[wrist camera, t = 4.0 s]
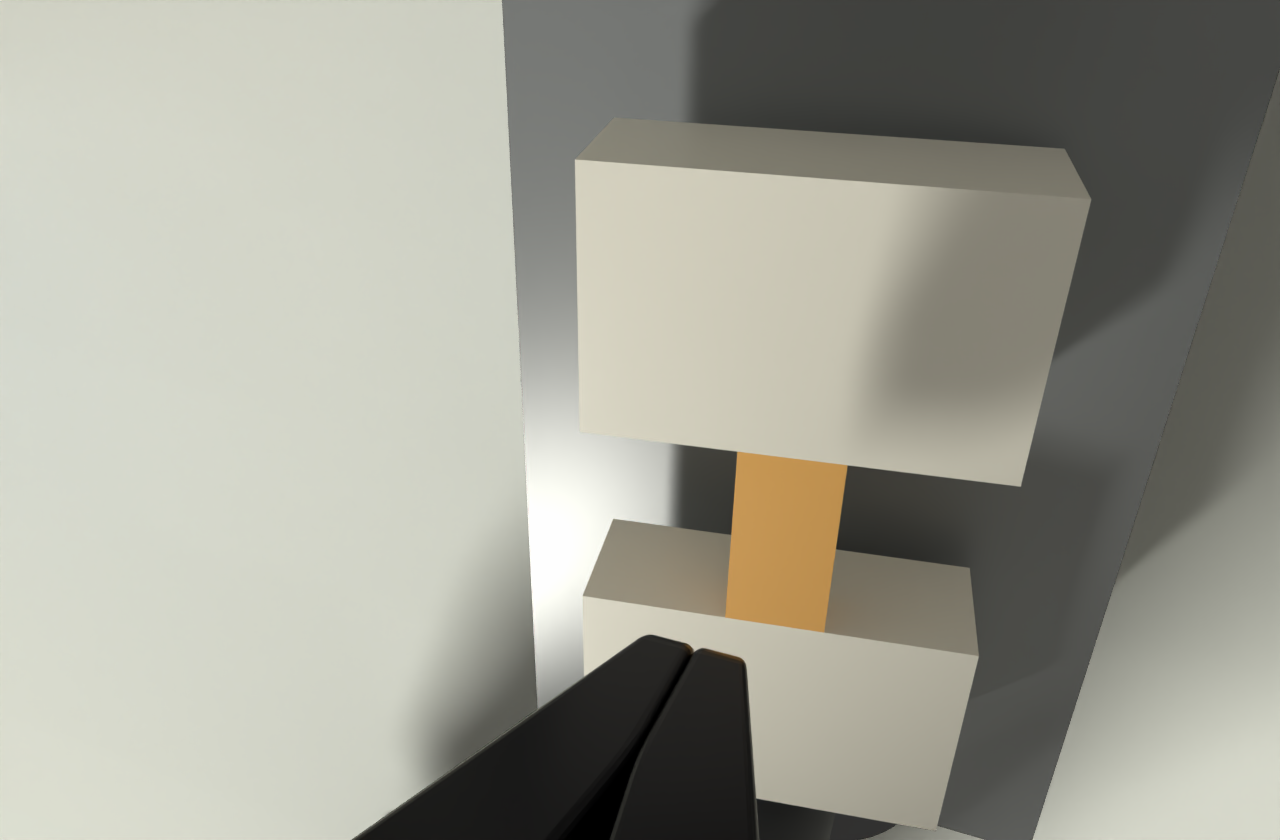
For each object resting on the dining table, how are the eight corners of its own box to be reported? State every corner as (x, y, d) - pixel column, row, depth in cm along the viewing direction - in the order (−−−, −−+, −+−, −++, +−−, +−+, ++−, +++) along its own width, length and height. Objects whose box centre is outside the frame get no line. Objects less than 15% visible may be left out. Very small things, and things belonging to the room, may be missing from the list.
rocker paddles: (931, 735, 13) (935, 831, 11) (612, 682, 13) (585, 767, 12) (1064, 148, 9) (1091, 199, 8) (614, 117, 10) (575, 158, 8)
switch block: (1036, 650, 17) (1028, 852, 13) (630, 553, 19) (537, 708, 15) (1254, -117, 11) (1330, -92, 8) (640, -136, 13) (495, -124, 10)
